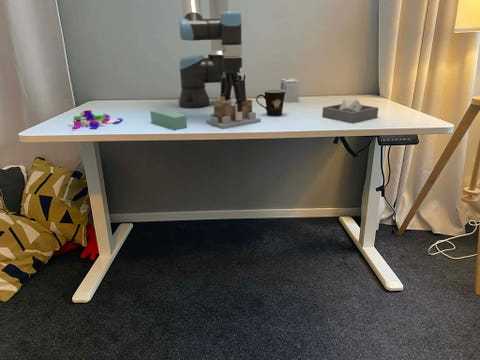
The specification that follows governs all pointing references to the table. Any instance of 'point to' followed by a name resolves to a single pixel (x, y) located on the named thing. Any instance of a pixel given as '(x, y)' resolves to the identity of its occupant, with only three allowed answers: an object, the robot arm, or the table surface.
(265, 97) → the coffee mug
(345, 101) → the white irregular lump
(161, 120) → the green rectangular block
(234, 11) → the robot arm
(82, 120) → the building block set
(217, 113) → the wooden grain block
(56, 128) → the table surface
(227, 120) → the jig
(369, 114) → the dice tray
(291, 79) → the light bulb box
